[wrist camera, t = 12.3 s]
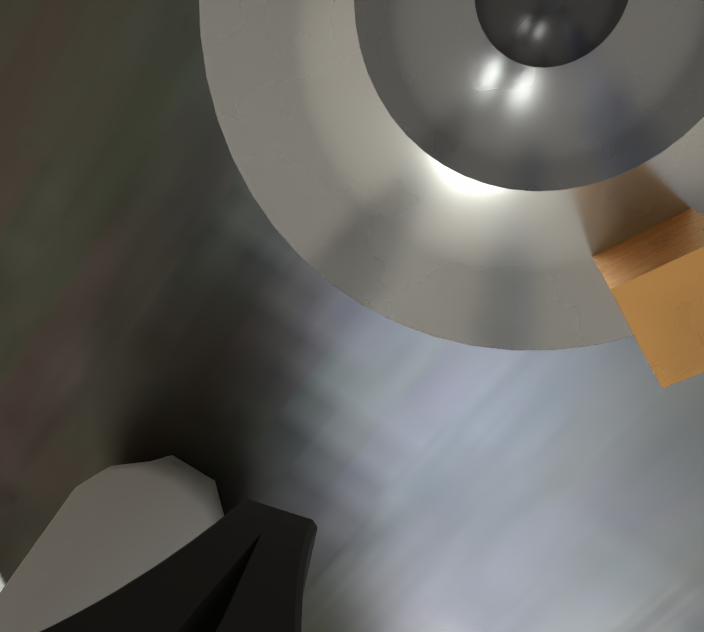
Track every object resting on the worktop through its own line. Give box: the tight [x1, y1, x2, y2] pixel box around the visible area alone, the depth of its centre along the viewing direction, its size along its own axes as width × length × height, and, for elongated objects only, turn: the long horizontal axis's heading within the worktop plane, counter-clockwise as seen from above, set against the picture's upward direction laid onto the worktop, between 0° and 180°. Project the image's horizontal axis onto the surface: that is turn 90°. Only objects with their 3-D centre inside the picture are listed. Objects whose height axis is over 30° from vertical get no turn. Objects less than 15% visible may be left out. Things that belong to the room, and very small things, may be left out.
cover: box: [354, 0, 704, 191], centre depth 13 cm, size 7×7×4 cm
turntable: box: [199, 0, 704, 388], centre depth 14 cm, size 16×16×4 cm
